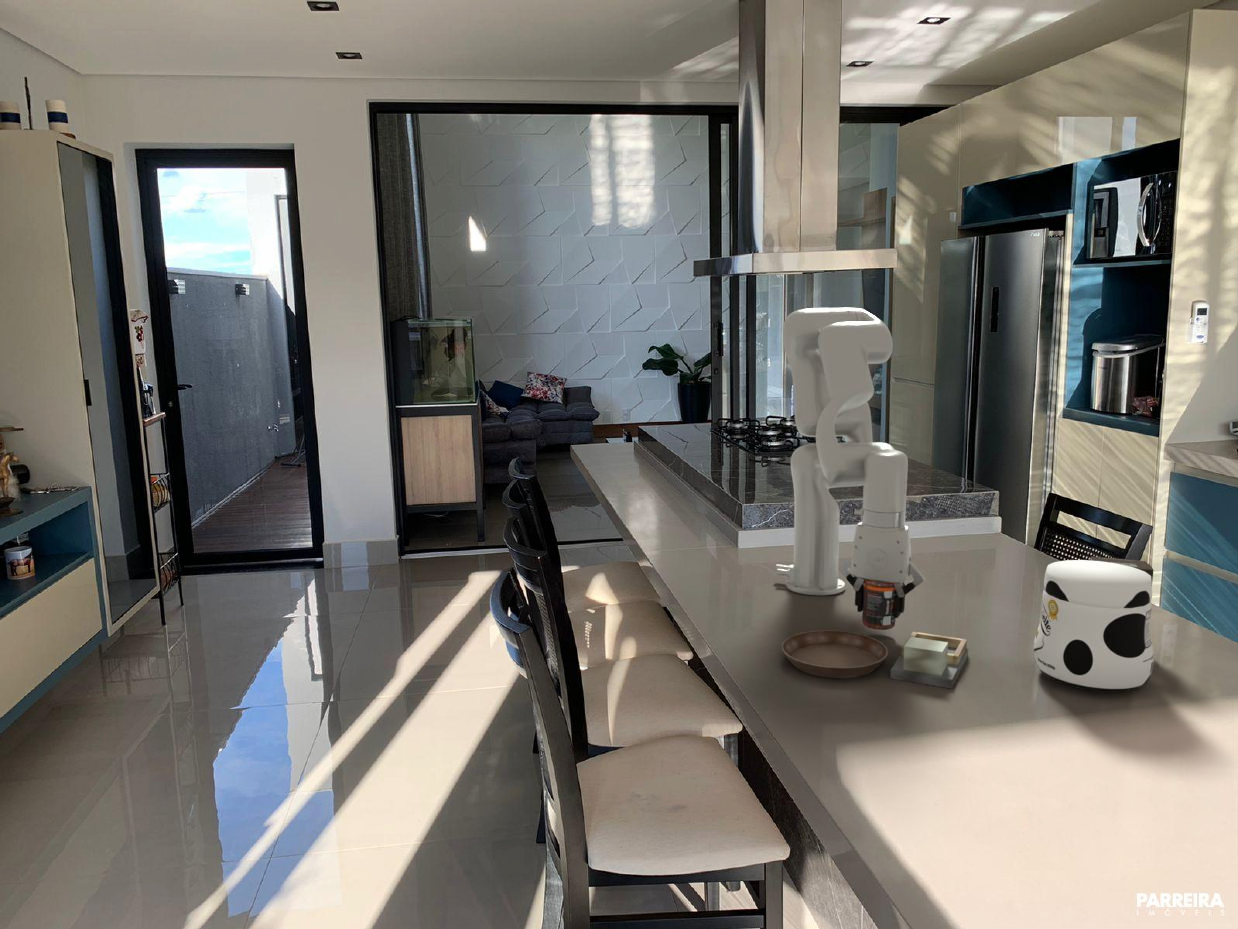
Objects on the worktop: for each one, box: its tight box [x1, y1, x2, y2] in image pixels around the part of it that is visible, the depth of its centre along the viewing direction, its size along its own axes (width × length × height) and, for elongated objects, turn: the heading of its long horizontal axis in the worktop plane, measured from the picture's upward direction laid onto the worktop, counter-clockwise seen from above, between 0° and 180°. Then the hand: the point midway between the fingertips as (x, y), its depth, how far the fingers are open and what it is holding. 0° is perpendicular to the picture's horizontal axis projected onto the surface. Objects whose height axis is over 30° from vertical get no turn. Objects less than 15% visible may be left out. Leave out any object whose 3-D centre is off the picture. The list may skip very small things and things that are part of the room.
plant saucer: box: [781, 629, 888, 679], centre depth 162 cm, size 18×18×3 cm
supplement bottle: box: [861, 579, 897, 631], centre depth 173 cm, size 6×6×11 cm
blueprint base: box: [890, 631, 969, 689], centre depth 159 cm, size 10×16×6 cm, turn 151°
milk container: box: [1033, 559, 1155, 693], centre depth 151 cm, size 17×17×18 cm
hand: (879, 611), depth 174 cm, fingers closed on supplement bottle, 6 cm apart
